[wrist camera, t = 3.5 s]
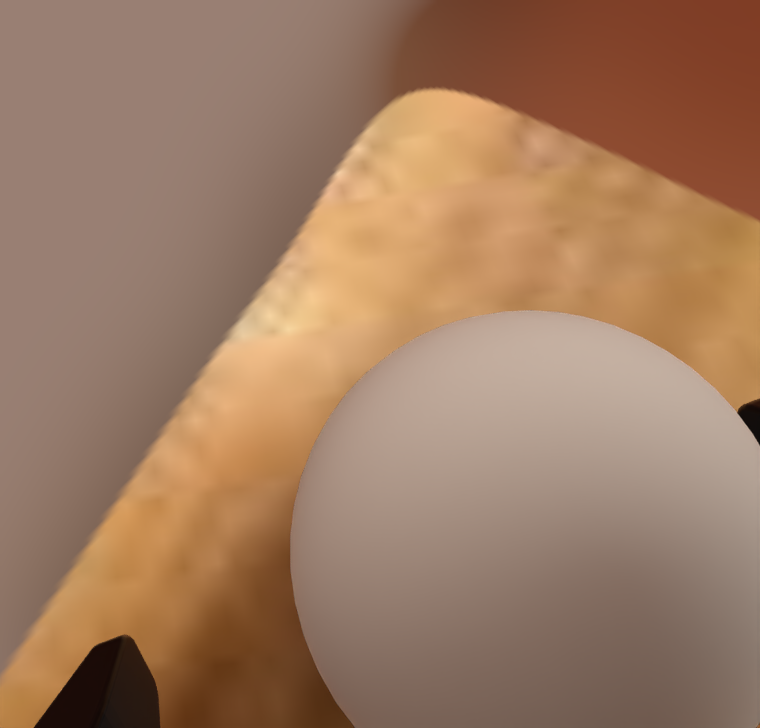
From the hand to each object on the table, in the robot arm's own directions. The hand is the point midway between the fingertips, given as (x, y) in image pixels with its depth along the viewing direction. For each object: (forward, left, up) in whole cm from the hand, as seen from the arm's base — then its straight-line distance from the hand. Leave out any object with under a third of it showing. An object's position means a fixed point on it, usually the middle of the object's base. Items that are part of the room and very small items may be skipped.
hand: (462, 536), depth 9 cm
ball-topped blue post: (0, 0, -7) cm, 8 cm away
